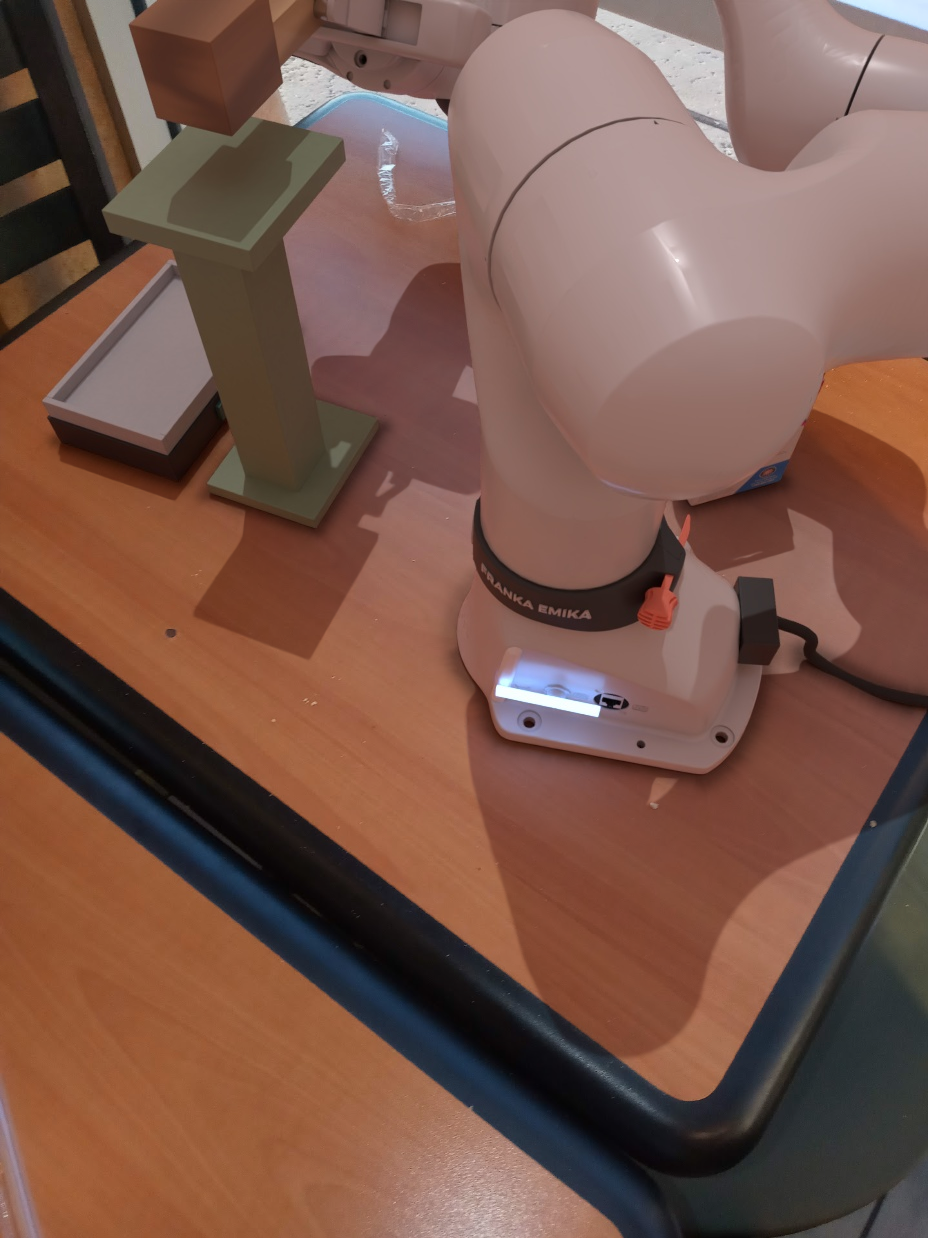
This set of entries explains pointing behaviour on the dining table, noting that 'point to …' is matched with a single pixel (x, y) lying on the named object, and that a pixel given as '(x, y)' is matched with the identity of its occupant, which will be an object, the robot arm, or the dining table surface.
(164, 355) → the scale
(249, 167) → the stand
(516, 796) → the dining table surface
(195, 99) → the mallet
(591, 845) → the dining table surface
